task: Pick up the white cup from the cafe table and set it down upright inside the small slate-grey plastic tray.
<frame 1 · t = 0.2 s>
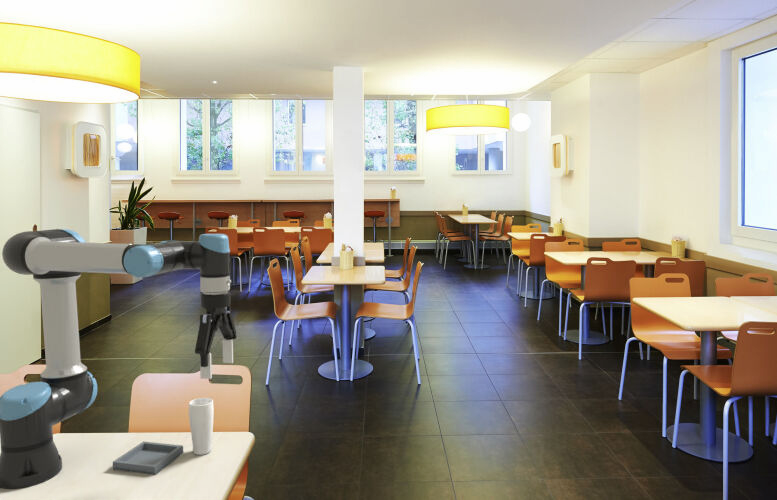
hand: (217, 370, 148), 27 cm above the table, tool pointing down, fingers open, 13 cm apart
white cup: (202, 452, 160), on the table
grey tray: (149, 461, 155), on the table
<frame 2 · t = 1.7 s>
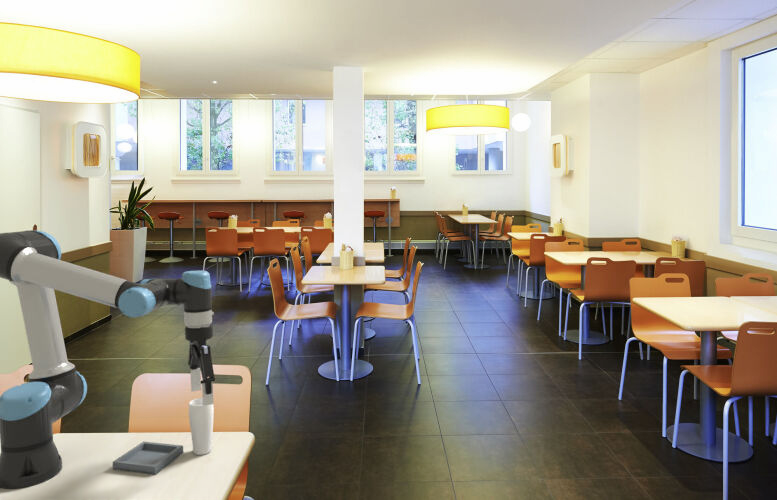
hand: (202, 397, 159), 16 cm above the table, tool pointing down, fingers open, 13 cm apart
nothing on the table moved.
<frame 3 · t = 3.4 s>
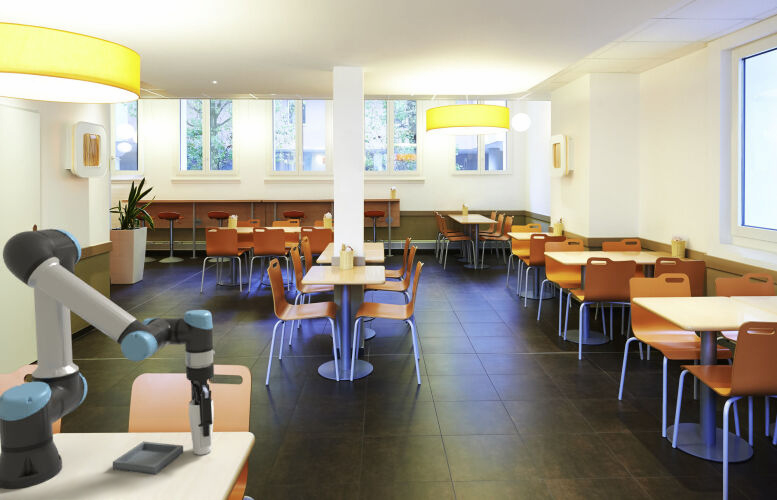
hand: (202, 441, 160), 3 cm above the table, tool pointing down, fingers closed on white cup, 6 cm apart
white cup: (202, 452, 160), on the table, touching gripper
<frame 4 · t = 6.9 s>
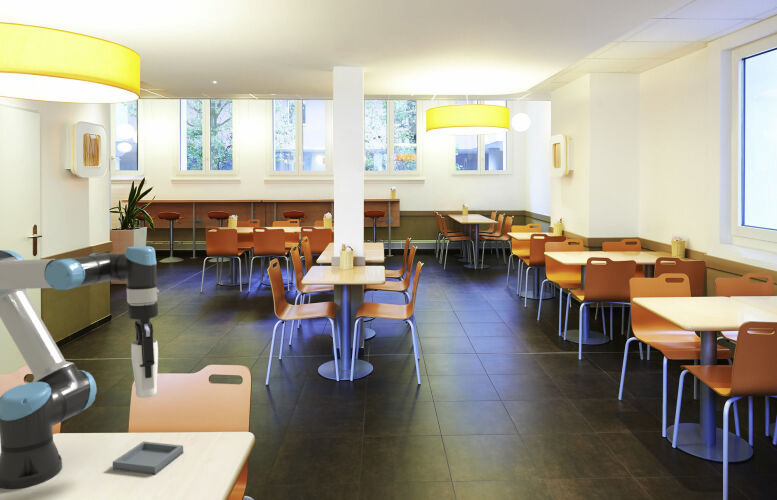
hand: (146, 384, 153), 22 cm above the table, tool pointing down, fingers closed on white cup, 6 cm apart
white cup: (146, 395, 153), point 19 cm above the table, touching gripper
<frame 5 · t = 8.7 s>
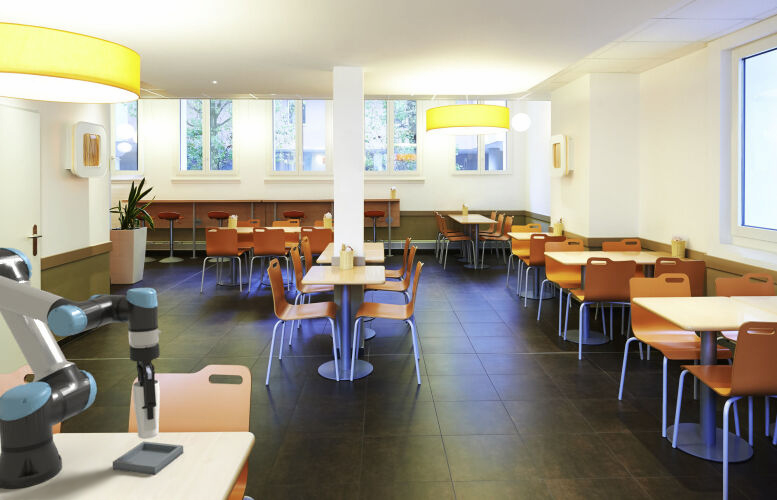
hand: (148, 425, 154), 10 cm above the table, tool pointing down, fingers closed on white cup, 6 cm apart
white cup: (148, 436, 154), point 7 cm above the table, touching gripper
when the fingers open (5 cm above the table, at t = 10.2 s): white cup drops 1 cm, resting on grey tray.
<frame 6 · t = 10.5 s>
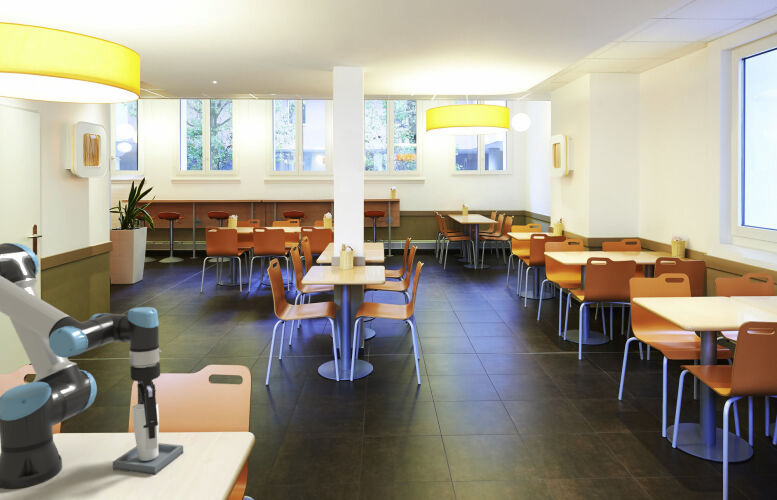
hand: (148, 441, 154), 6 cm above the table, tool pointing down, fingers open, 10 cm apart
white cup: (148, 458, 155), point 1 cm above the table, touching grey tray
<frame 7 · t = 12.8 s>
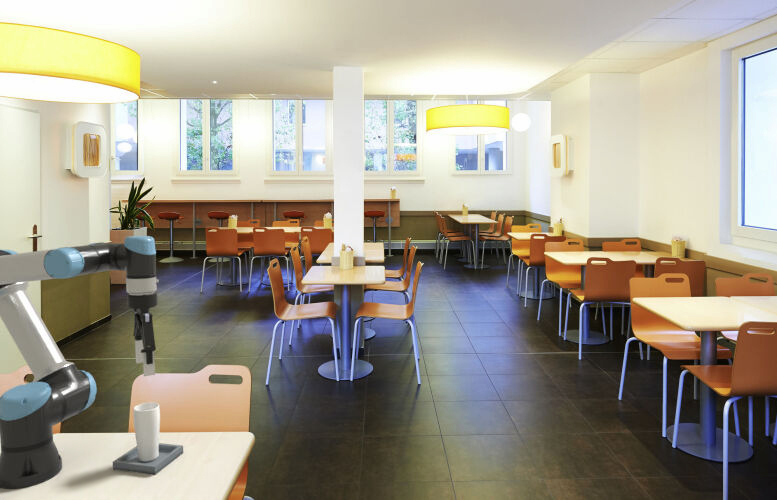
hand: (145, 368, 152), 27 cm above the table, tool pointing down, fingers open, 13 cm apart
nothing on the table moved.
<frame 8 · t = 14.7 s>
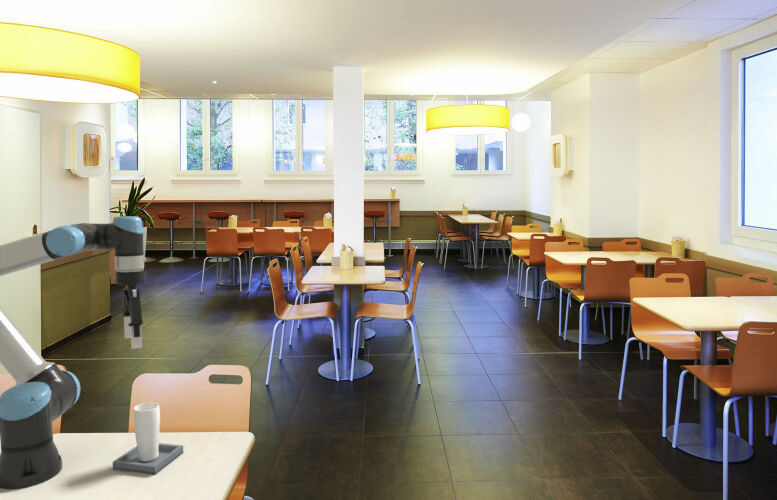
hand: (133, 342, 160), 32 cm above the table, tool pointing down, fingers open, 13 cm apart
nothing on the table moved.
at the end: white cup 0.5 cm off-centre on the grey tray, point 0.4 cm above the grey tray's base; white cup tilted 0°; the gripper is holding nothing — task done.
